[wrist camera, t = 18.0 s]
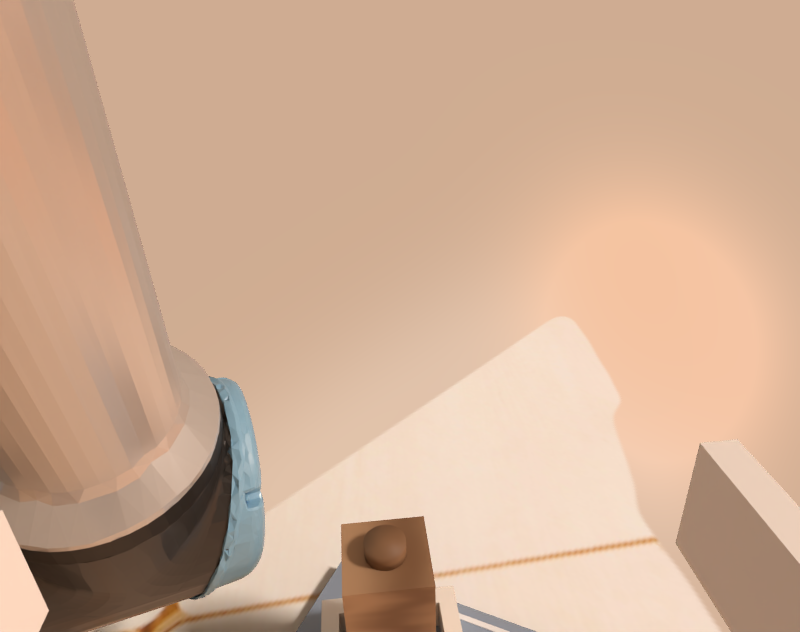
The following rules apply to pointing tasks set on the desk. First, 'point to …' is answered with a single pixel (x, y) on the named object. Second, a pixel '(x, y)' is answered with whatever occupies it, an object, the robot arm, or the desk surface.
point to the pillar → (387, 577)
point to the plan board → (475, 625)
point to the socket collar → (445, 612)
